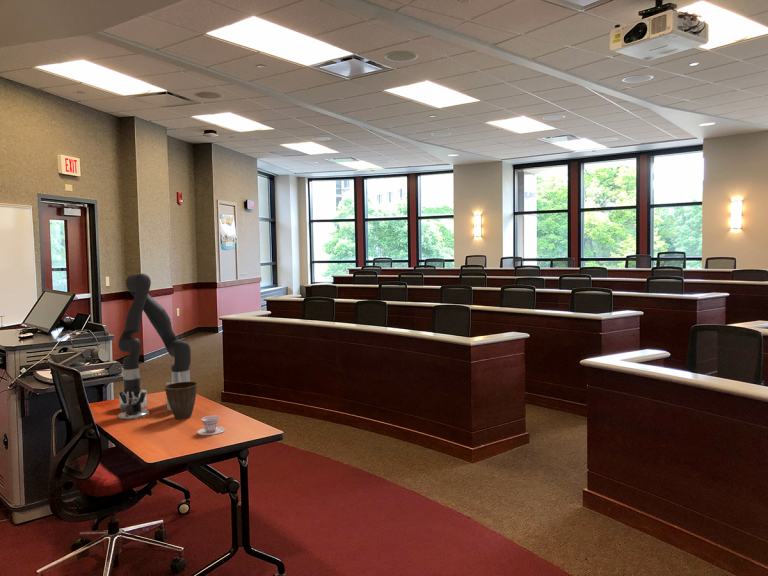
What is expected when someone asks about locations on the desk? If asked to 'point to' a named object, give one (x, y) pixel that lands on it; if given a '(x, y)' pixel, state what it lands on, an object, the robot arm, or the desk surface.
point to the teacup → (210, 426)
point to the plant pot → (181, 398)
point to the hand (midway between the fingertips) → (133, 411)
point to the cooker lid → (133, 412)
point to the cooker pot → (123, 405)
